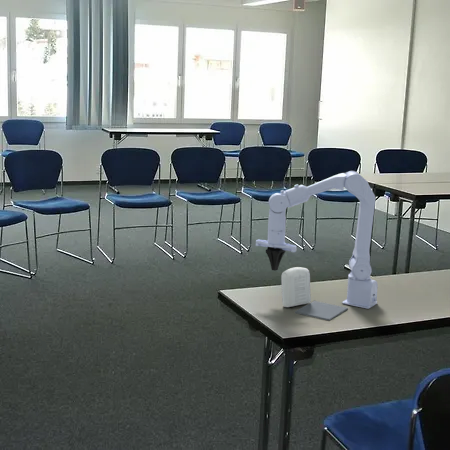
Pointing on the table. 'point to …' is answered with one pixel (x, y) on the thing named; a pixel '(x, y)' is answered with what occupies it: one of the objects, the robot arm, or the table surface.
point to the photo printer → (295, 287)
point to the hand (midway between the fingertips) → (274, 269)
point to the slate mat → (321, 310)
